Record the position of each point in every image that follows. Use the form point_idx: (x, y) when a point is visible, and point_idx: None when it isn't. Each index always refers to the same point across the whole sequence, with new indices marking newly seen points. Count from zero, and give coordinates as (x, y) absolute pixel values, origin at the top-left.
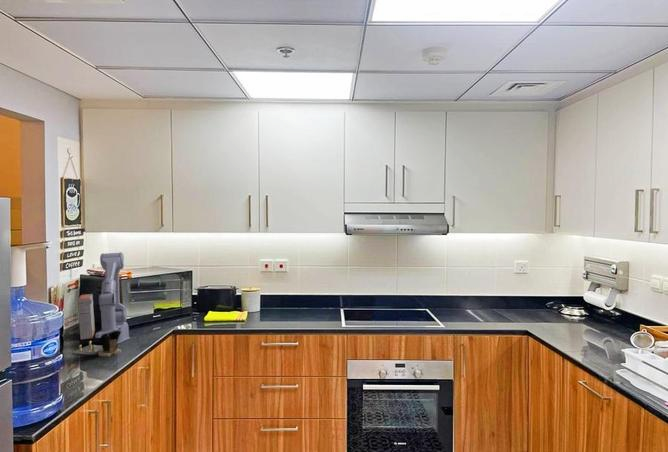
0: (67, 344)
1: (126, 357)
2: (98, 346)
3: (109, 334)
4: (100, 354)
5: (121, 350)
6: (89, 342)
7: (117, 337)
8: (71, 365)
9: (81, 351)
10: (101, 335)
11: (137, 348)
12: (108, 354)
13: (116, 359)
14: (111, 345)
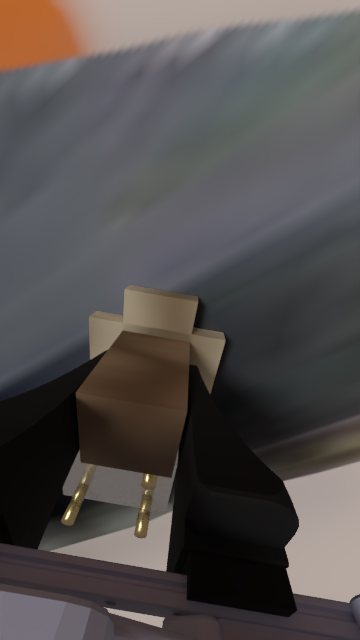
0: (60, 545)
1: (273, 148)
2: (76, 457)
3: (43, 516)
4: (210, 390)
5: (126, 288)
6: (76, 515)
7: (42, 399)
8: (357, 446)
9: (163, 489)
10: (314, 629)
11: (13, 196)
12: (223, 339)
13: (314, 226)
14: (171, 373)
